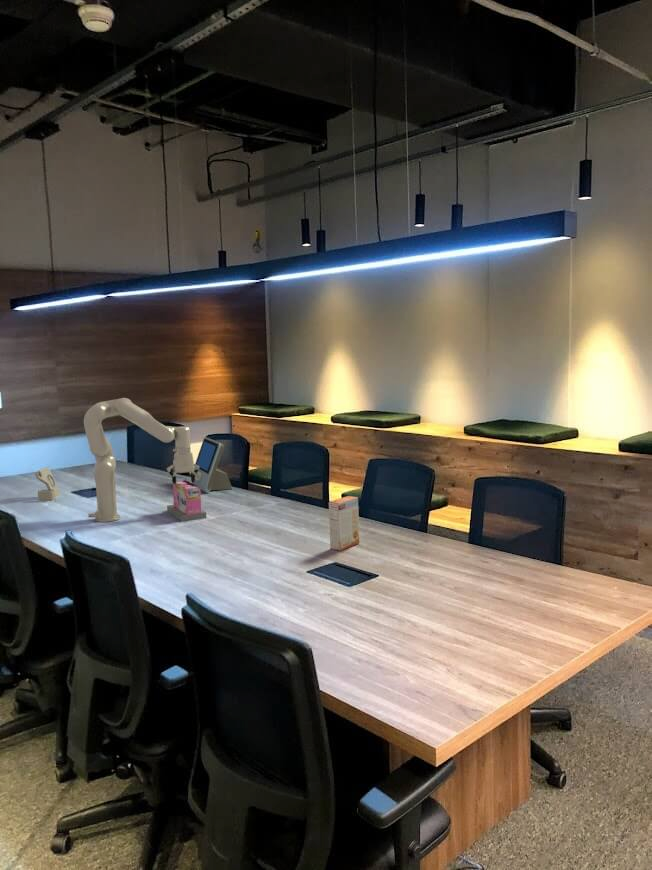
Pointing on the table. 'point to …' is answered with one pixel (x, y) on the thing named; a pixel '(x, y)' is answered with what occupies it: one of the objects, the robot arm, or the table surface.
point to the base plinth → (183, 516)
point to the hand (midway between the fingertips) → (183, 482)
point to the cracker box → (344, 523)
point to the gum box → (187, 497)
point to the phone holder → (51, 485)
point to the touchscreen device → (210, 467)
